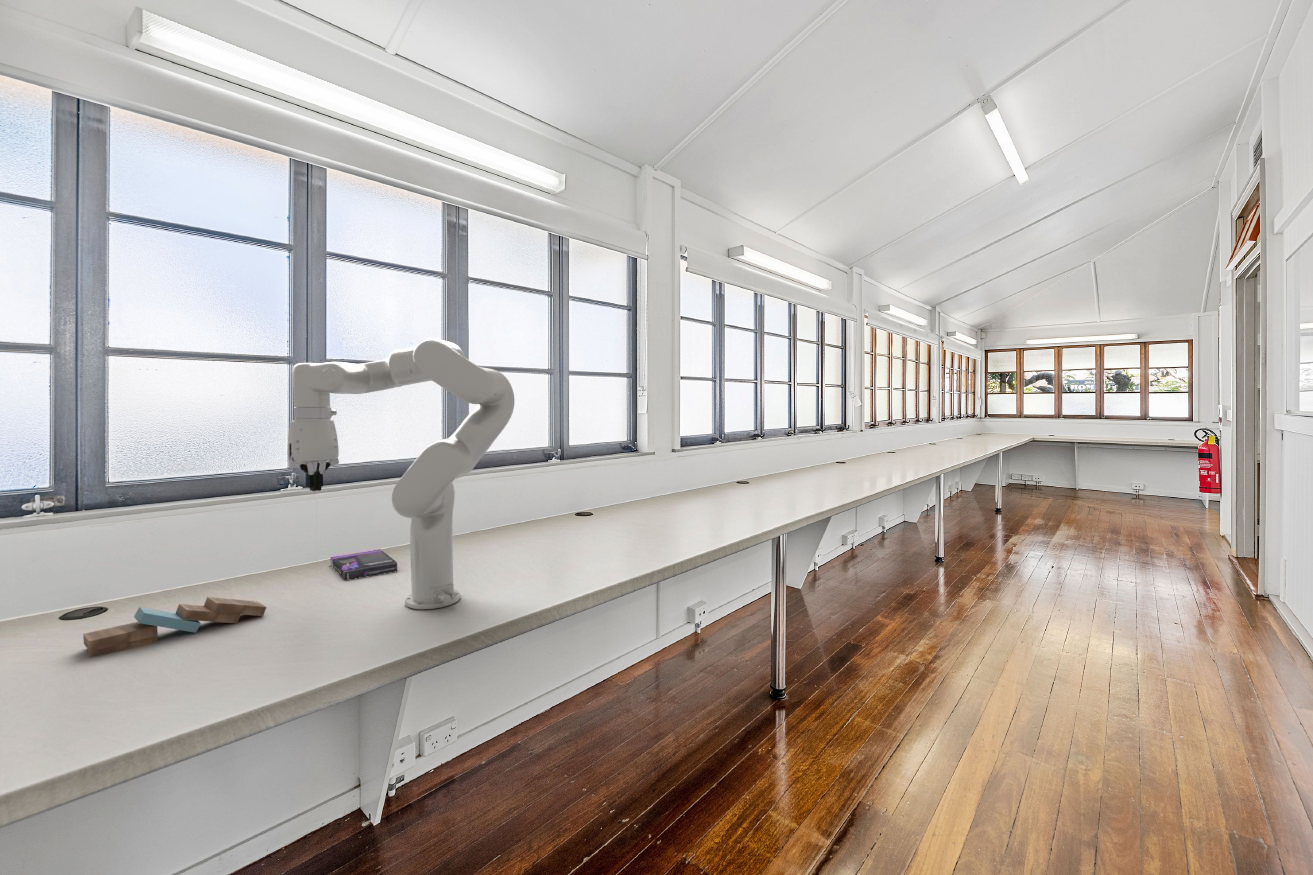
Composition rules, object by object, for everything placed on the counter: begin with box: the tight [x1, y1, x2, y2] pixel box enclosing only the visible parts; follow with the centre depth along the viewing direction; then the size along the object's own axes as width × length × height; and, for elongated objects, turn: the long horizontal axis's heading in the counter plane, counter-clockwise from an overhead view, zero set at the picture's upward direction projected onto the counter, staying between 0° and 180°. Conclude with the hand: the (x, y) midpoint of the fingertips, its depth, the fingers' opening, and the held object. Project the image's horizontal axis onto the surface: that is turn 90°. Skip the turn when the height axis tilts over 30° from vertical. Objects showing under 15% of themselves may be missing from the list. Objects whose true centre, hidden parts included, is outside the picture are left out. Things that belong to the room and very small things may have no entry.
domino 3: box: [133, 606, 202, 634], centre depth 121 cm, size 2×6×10 cm
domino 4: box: [175, 603, 242, 624], centre depth 127 cm, size 2×6×10 cm
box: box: [330, 548, 398, 581], centre depth 171 cm, size 14×4×20 cm
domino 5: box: [203, 596, 267, 617], centre depth 130 cm, size 2×6×10 cm
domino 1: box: [82, 621, 159, 652], centre depth 116 cm, size 2×6×10 cm
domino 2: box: [87, 635, 159, 658], centre depth 117 cm, size 2×6×10 cm
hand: (315, 490), depth 142 cm, fingers closed
